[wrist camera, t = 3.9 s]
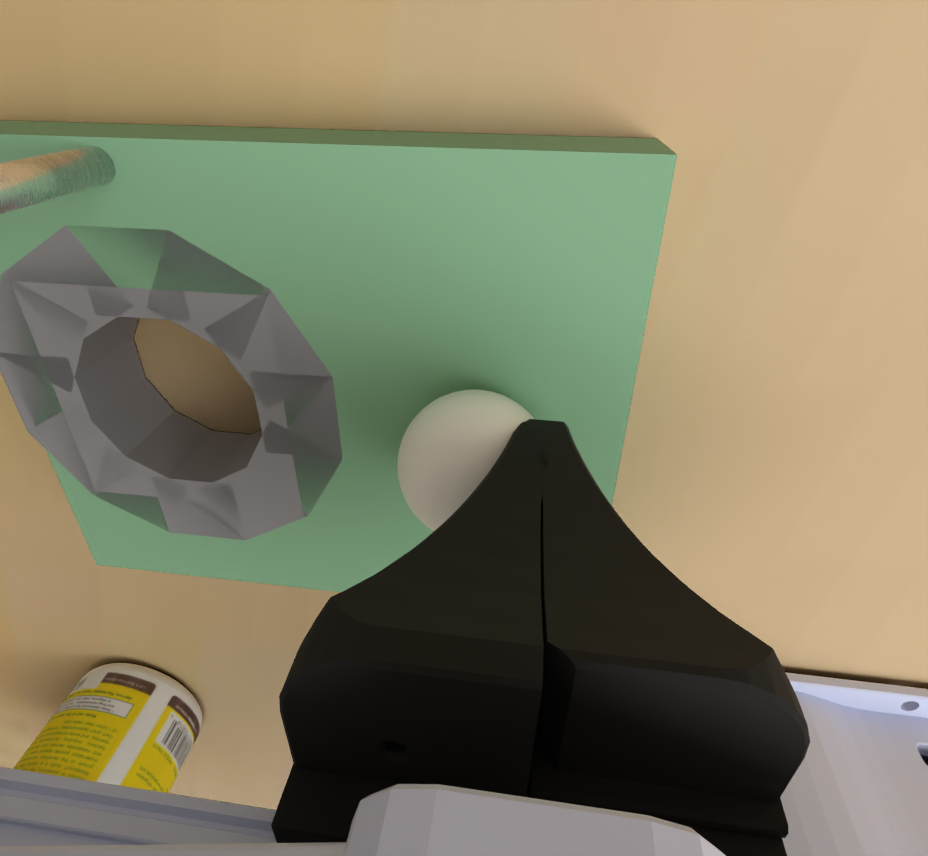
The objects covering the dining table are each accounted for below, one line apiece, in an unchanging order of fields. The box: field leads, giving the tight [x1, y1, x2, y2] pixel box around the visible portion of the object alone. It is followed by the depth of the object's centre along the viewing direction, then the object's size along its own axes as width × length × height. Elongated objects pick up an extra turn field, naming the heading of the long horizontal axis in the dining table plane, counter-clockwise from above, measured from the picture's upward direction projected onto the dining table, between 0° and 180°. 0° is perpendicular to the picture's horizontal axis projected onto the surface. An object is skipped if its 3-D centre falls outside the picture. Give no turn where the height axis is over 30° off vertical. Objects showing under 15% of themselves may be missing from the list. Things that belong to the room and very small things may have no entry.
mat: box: [0, 120, 677, 592], centre depth 15 cm, size 15×12×2 cm
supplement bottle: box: [13, 663, 202, 793], centre depth 22 cm, size 6×6×10 cm
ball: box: [397, 389, 534, 531], centre depth 12 cm, size 3×3×3 cm
